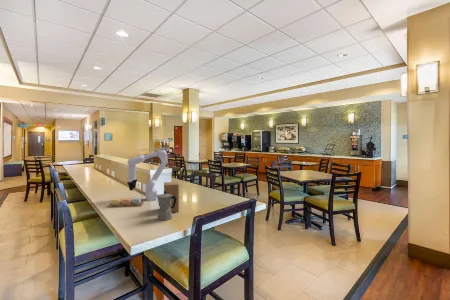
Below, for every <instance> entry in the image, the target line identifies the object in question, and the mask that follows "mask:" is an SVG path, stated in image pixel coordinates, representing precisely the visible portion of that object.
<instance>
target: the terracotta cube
mask: <svg viewBox="0 0 450 300" xmlns="http://www.w3.org/2000/svg"><path fill="white" fill-rule="evenodd" d="M131 198H132V197H124V198H121V202H122V204H130V203H131V201H132V200H131Z"/></svg>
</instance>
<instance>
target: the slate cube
mask: <svg viewBox="0 0 450 300" xmlns="http://www.w3.org/2000/svg"><path fill="white" fill-rule="evenodd" d="M131 201H132V204H140V203H141V201H142V200H141V197H133V198H132V200H131Z"/></svg>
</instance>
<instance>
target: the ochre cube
mask: <svg viewBox="0 0 450 300" xmlns="http://www.w3.org/2000/svg"><path fill="white" fill-rule="evenodd" d="M121 202H122V198H120V197H118V198H116V197H115V198H113V199H111V203H112V205H115V204H120V203H121Z"/></svg>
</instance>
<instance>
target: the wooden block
mask: <svg viewBox="0 0 450 300" xmlns="http://www.w3.org/2000/svg"><path fill="white" fill-rule="evenodd" d="M179 186H180V185H179V182H178V181H168V182H166V181H165V182H164V183H163V192H164V191H166V194H171V195H172V196H175V197H176V198H177V200H176V203H175V207H174V208H171V207H173V203H174V199H172V200H171V205H170V208H171V213H172V214H173V213H179V212H180V205H179V204H180V198H179V196H180V195H179V193H180V187H179Z"/></svg>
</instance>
